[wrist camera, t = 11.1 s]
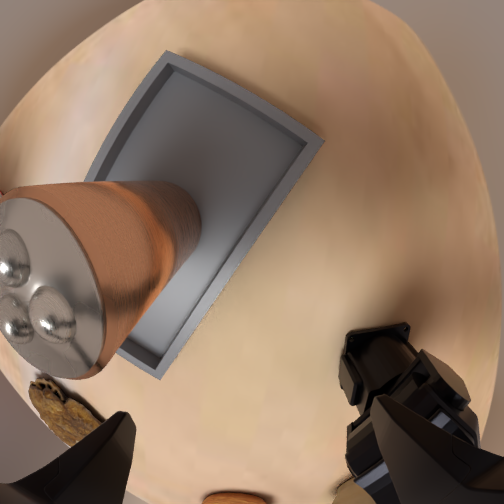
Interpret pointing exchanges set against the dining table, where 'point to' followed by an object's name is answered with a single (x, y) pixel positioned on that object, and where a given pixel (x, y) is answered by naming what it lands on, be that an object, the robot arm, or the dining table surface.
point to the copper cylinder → (87, 266)
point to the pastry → (233, 499)
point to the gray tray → (202, 184)
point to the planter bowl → (352, 494)
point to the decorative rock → (61, 412)
